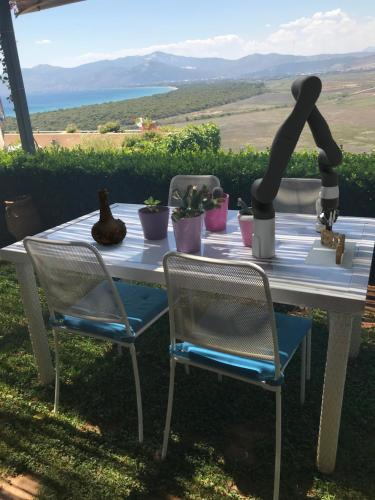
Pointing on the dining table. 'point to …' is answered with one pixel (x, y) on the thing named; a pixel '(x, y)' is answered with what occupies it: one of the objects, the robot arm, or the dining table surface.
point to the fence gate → (330, 238)
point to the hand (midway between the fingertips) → (328, 233)
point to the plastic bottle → (319, 211)
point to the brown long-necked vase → (107, 224)
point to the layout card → (330, 254)
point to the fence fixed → (340, 249)
